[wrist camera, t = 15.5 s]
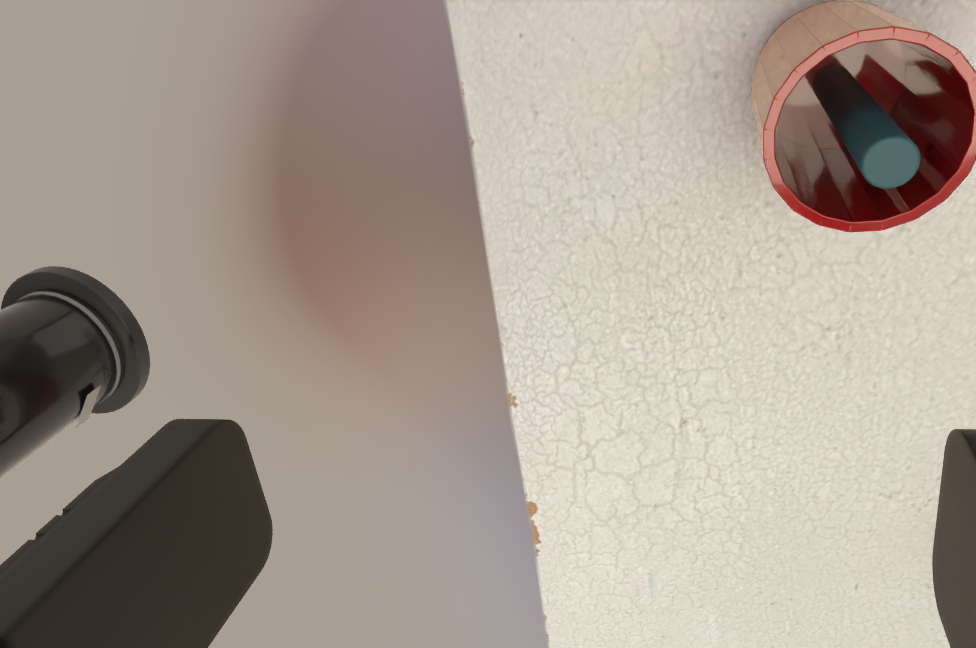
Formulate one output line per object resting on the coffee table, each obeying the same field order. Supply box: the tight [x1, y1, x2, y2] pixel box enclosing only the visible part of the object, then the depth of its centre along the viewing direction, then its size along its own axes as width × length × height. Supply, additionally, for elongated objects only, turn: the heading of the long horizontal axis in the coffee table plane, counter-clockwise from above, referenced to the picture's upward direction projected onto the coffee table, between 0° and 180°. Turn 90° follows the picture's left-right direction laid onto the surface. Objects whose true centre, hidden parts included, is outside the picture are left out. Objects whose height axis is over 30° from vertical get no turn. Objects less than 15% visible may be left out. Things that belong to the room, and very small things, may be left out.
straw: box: [813, 65, 920, 189], centre depth 29 cm, size 2×2×14 cm
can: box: [751, 0, 976, 232], centre depth 31 cm, size 7×7×11 cm
